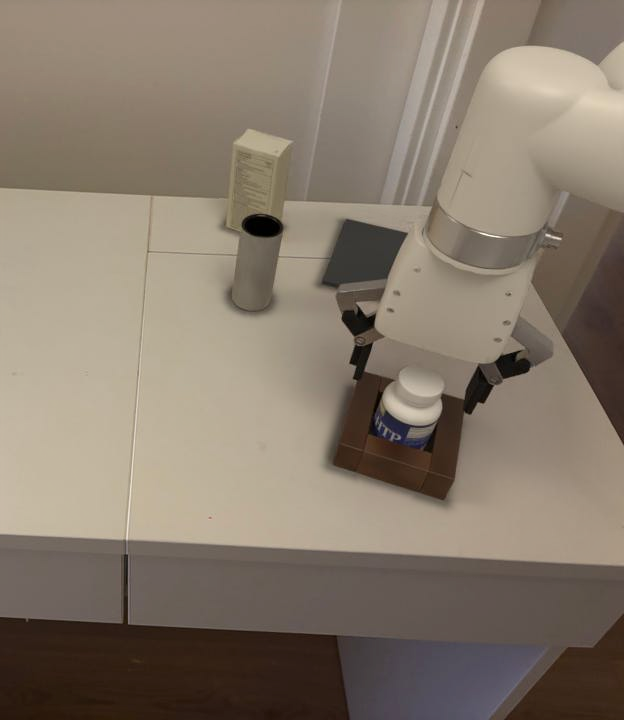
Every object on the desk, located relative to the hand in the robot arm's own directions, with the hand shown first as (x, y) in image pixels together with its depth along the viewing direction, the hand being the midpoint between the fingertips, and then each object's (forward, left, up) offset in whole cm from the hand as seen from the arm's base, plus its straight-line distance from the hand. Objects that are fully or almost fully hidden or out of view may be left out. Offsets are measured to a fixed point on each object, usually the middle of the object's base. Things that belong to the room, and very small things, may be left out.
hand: (412, 386), depth 67 cm
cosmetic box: (+22, -29, -8) cm, 38 cm away
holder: (-1, 0, -8) cm, 8 cm away
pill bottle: (0, 0, -8) cm, 8 cm away
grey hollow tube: (+18, -15, -8) cm, 25 cm away
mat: (+4, -28, -8) cm, 30 cm away
